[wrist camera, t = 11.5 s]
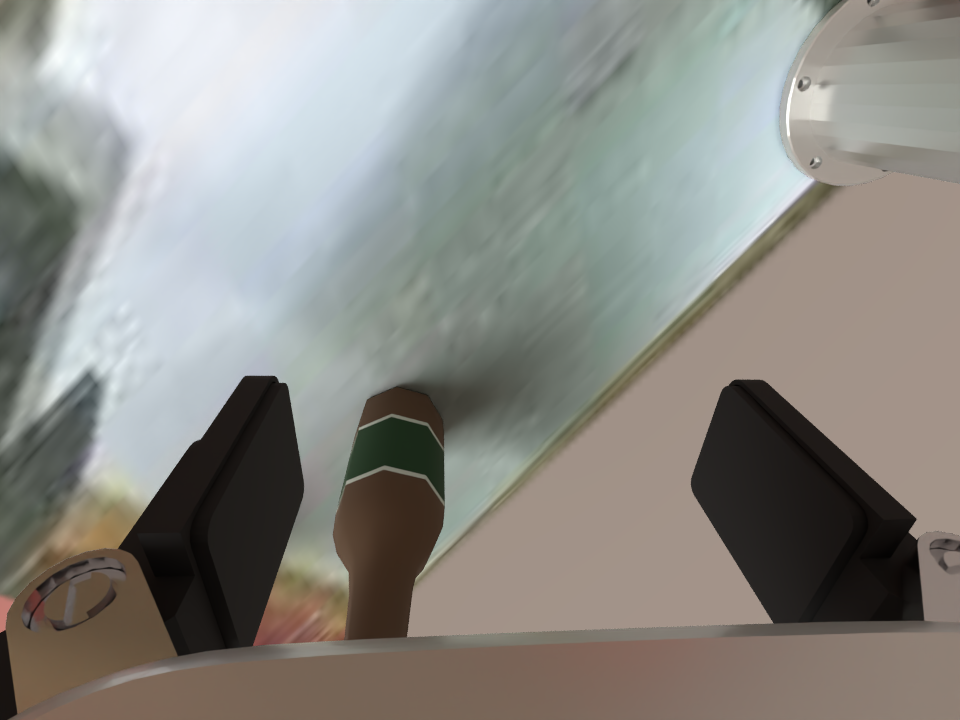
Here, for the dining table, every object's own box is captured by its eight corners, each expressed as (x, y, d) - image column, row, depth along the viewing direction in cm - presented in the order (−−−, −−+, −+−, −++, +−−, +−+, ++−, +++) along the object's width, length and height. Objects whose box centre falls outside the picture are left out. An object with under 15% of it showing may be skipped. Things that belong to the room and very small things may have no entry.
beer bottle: (440, 381, 43) (441, 660, 22) (446, 450, 47) (451, 744, 26) (351, 386, 42) (266, 676, 22) (364, 455, 46) (302, 758, 25)
